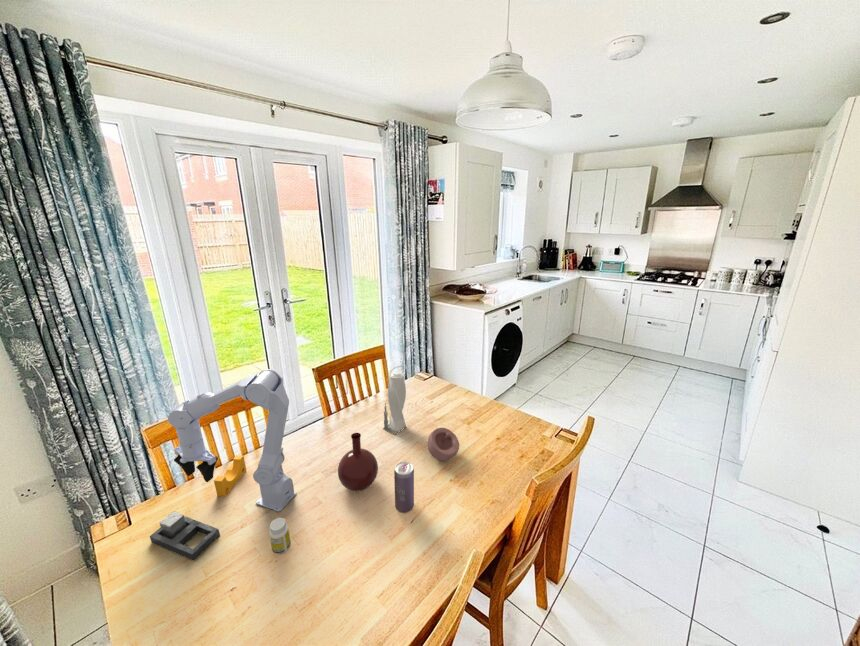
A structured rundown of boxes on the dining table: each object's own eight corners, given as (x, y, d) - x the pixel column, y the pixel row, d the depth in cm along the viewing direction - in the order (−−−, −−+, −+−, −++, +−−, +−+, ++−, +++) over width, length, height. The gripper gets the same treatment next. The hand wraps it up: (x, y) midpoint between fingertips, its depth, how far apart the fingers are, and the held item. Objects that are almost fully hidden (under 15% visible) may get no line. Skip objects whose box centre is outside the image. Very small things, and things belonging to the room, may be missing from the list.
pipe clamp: (234, 469, 124) (231, 454, 122) (246, 470, 123) (243, 455, 121) (212, 496, 112) (208, 480, 110) (225, 497, 112) (221, 481, 110)
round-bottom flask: (359, 465, 126) (356, 419, 120) (386, 481, 119) (384, 433, 113) (331, 488, 116) (326, 438, 110) (358, 507, 109) (354, 455, 102)
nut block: (188, 530, 100) (183, 515, 98) (174, 542, 96) (169, 526, 95) (178, 526, 101) (173, 511, 99) (164, 538, 98) (159, 522, 96)
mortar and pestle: (446, 473, 123) (447, 446, 120) (420, 458, 130) (420, 433, 126) (464, 455, 132) (465, 430, 129) (439, 442, 139) (439, 418, 136)
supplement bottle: (285, 535, 99) (281, 513, 96) (294, 545, 96) (290, 522, 93) (269, 547, 95) (264, 524, 93) (277, 558, 93) (273, 534, 90)
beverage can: (416, 501, 111) (416, 463, 106) (409, 516, 106) (409, 477, 101) (399, 496, 113) (399, 459, 108) (391, 511, 108) (390, 472, 103)
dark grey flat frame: (220, 535, 99) (218, 529, 98) (193, 561, 92) (192, 554, 91) (179, 519, 103) (177, 513, 103) (151, 542, 96) (149, 536, 96)
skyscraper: (396, 419, 154) (395, 362, 145) (410, 426, 149) (410, 368, 140) (383, 429, 147) (381, 369, 138) (397, 436, 143) (396, 375, 134)
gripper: (160, 443, 102) (170, 479, 106) (196, 454, 97) (206, 492, 102) (183, 429, 108) (192, 464, 112) (218, 439, 104) (226, 475, 108)
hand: (200, 476), depth 107 cm, fingers open, 7 cm apart
